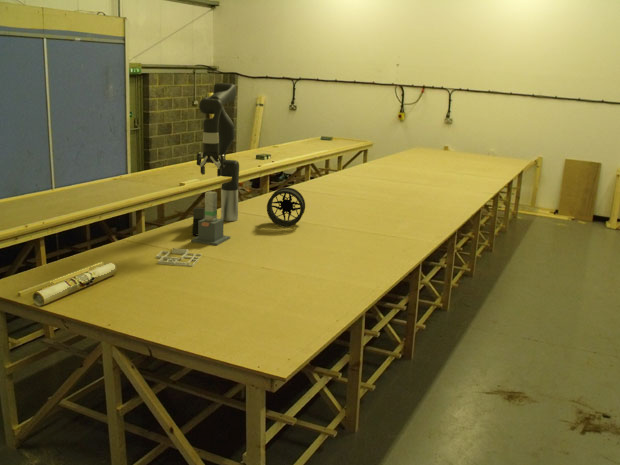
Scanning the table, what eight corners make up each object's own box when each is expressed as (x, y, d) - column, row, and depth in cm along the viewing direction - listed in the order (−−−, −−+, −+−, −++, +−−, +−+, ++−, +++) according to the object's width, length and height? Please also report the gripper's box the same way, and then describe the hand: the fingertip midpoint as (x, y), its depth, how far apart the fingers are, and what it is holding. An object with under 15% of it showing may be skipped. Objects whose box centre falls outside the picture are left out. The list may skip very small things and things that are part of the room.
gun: (190, 234, 305) (192, 204, 306) (200, 236, 335) (202, 209, 335) (203, 235, 305) (205, 205, 306) (212, 237, 335) (214, 209, 335)
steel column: (209, 222, 303) (209, 191, 298) (216, 224, 301) (217, 192, 297) (204, 224, 299) (204, 192, 294) (212, 226, 297) (212, 193, 293)
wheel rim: (304, 223, 340) (306, 188, 334) (302, 228, 331) (304, 191, 325) (268, 221, 341) (269, 186, 336) (266, 225, 333) (267, 189, 327)
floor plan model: (151, 250, 284) (151, 246, 283) (204, 254, 281) (204, 250, 281) (136, 263, 266) (136, 258, 265) (192, 267, 263) (192, 263, 263)
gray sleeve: (205, 234, 311) (205, 215, 308) (230, 238, 306) (230, 218, 304) (191, 241, 298) (191, 221, 295) (216, 245, 294) (216, 225, 291)
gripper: (228, 142, 291) (227, 175, 296) (201, 139, 296) (201, 172, 300) (220, 143, 284) (220, 178, 289) (193, 141, 289) (194, 175, 293)
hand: (211, 175), depth 295 cm, fingers open, 8 cm apart
